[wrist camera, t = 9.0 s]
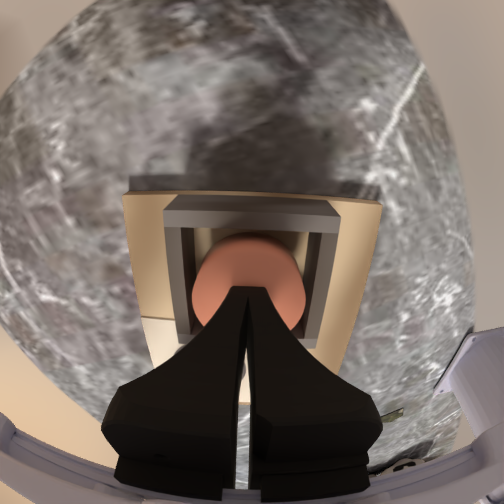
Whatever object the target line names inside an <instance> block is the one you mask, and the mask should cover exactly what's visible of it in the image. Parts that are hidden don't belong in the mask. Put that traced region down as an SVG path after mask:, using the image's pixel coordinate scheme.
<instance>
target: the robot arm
mask: <svg viewBox="0 0 504 504" xmlns="http://www.w3.org/2000/svg"><path fill="white" fill-rule="evenodd" d="M247 315H248V316H247ZM246 350H247V363H248V376H249V388H250V439H249V476H248V490H243V489H235V481H236V453H237V428H238V405H239V394H240V387H241V381H242V374H243V367H244V361H245V354H246ZM449 391H453V393H454V395H455V396H456V398H457V400H458V402H459V404H460V406H461V408H462V410H463V412H464V414H465V416H466V418H467V421H468V423H469V425H470V427H471V429H472V431H473V433H474V436H475V438H476V439H475V440H474V441H473V442H472V443H471V444H470V445H468V446H466V447H463V448H462V449H459V450H456V451H454V452H452V453H449V454H447V455H444V456H442V457H439V458H436V459H434V460H431V461H428V462H425V463H422V464H419V465H416V466H413V467H410V468H407V469H403V470H400V471H396V472H393V473H389V474H385V475H381V476H377V477H372V478H369V476H368V471H367V467H366V465H367V464H368V463H369V457H368V453H367V451H368V450H369V448H370V447H371V446H372V445H373V444H374V442H375V441H376V440H377V439H378V437H379V436H380V434H381V432H382V431H383V424H382V421H381V418H380V415H379V412H378V410H377V408H376V406H375V404H374V402H373V400H372V398H371V396H370V395H369V394H367V393H365V392H363V391H361V390H360V389H358V388H356V387H354V386H353V385H351V384H349V383H347V382H346V381H344V380H343V379H341V378H340V377H339V376H337V375H336V374H334V373H333V372H332V371H330V370H329V369H328V368H327V367H325V366H324V365H323V364H322V363H321V362H319V361H318V360H317V359H316V358H315V357H314V356H313V355H312V354H311V353H310V352H309V351H308V350H307V349H306V348H305V347H304V346H303V345H302V344H301V343H300V342H299V340H298V339H297V338H296V337H295V336H294V334H293V333H292V332H291V330H290V329H289V328H288V326H287V325H286V324H285V322H284V321H283V319H282V318H281V316H280V314H279V313H278V311H277V309H276V308H275V306H274V304H273V302H272V300H271V298H270V296H269V294H268V291H267V289H266V288H265V287H254V286H232V287H231V288H230V289H229V291H228V293H227V295H226V297H225V299H224V300H223V302H222V303H221V305H220V306H219V308H218V309H217V311H216V312H215V314H214V315H213V316H212V318H211V319H210V320H209V321H208V322H207V324H206V325H205V326H204V327H203V328H202V330H201V331H200V332H199V333H198V334H197V335H196V336H195V337H194V338H193V339H192V340H191V341H190V342H189V343H188V344H187V345H185V346H184V347H183V348H182V349H181V350H180V351H178V352H177V353H176V354H175V355H173V356H172V357H171V358H170V359H168V360H167V361H165V362H164V363H162V364H161V365H159V366H158V367H156V368H155V369H153V370H152V371H150V372H148V373H147V374H145V375H143V376H141V377H139V378H137V379H135V380H133V381H131V382H129V383H127V384H125V385H122V386H120V387H119V388H118V390H117V392H116V394H115V395H114V397H113V398H112V400H111V402H110V404H109V407H108V409H107V412H106V414H105V417H104V419H103V422H102V425H101V431H102V433H103V434H104V436H105V438H106V439H107V441H108V442H109V443H110V445H111V446H112V447H113V448H114V450H115V451H116V452H117V453H118V454H119V458H118V462H117V466H116V469H113V468H109V467H106V466H103V465H100V464H97V463H94V462H91V461H88V460H85V459H83V458H80V457H77V456H75V455H72V454H70V453H67V452H65V451H63V450H60V449H58V448H55V447H53V446H51V445H49V444H46V443H45V442H42V441H40V440H38V439H36V438H34V437H32V436H30V435H28V434H26V433H25V432H23V431H21V430H19V429H17V428H16V427H15V425H14V424H13V423H12V422H11V421H10V420H9V419H8V418H7V417H6V416H5V415H4V414H2V413H1V412H0V480H1V481H2V482H3V483H5V484H6V485H7V486H9V487H10V488H12V489H13V490H15V491H16V492H18V493H19V494H21V495H22V496H24V497H26V498H27V499H29V500H30V501H32V502H34V503H35V504H473V503H475V502H477V501H479V502H480V503H481V504H504V327H500V328H496V329H491V330H486V331H481V332H475V333H470V334H468V335H467V336H466V338H465V339H464V341H463V343H462V345H461V347H460V349H459V350H458V352H457V354H456V356H455V357H454V359H453V361H452V362H451V364H450V366H449V367H448V369H447V370H446V372H445V374H444V375H443V377H442V378H441V380H440V381H439V383H438V384H437V386H436V387H435V389H434V390H433V394H434V395H438V394H442V393H445V392H449ZM144 499H145V500H144Z"/></svg>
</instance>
